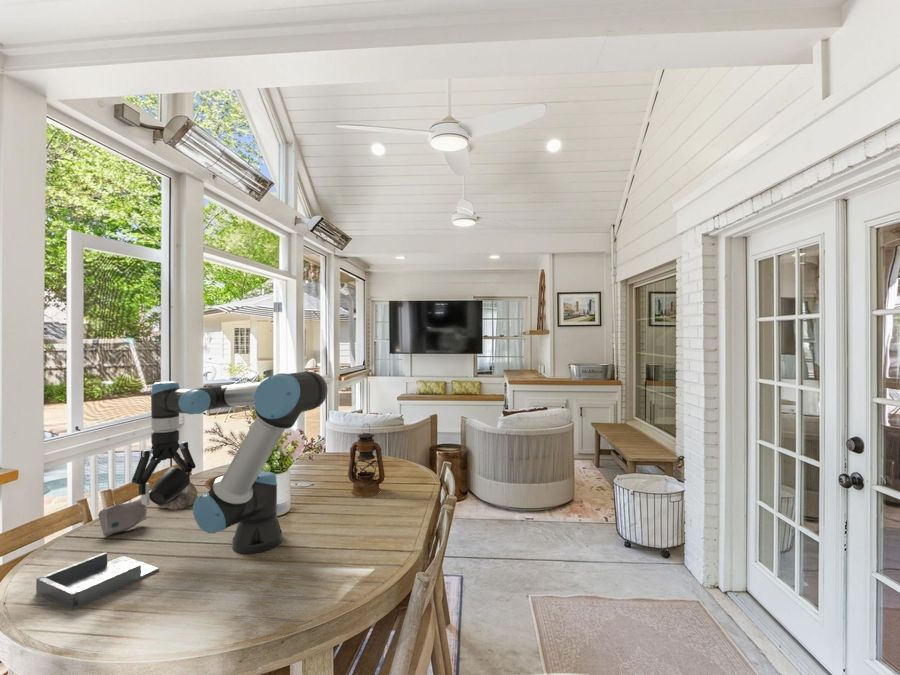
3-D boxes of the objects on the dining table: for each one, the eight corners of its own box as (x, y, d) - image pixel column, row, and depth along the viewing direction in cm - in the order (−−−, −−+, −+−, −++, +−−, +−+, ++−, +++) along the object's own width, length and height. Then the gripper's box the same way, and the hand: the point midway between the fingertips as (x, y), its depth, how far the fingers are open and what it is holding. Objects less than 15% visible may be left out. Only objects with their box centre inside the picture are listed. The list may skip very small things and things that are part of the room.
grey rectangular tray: (159, 571, 129) (159, 556, 129) (72, 611, 110) (72, 594, 110) (123, 559, 136) (123, 545, 136) (36, 594, 117) (36, 578, 117)
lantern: (389, 488, 201) (389, 421, 201) (379, 498, 189) (379, 426, 189) (353, 485, 204) (353, 420, 204) (341, 495, 192) (341, 425, 192)
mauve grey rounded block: (101, 538, 153) (103, 537, 149) (97, 510, 154) (99, 508, 150) (147, 524, 162) (150, 522, 158) (143, 497, 164) (146, 495, 160)
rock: (201, 498, 189) (201, 474, 189) (195, 508, 178) (195, 483, 178) (161, 502, 184) (161, 478, 184) (152, 513, 173) (152, 487, 173)
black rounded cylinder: (171, 519, 142) (191, 496, 150) (168, 493, 136) (189, 471, 144) (147, 512, 142) (169, 490, 150) (143, 485, 136) (165, 464, 145)
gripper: (193, 422, 156) (193, 485, 156) (117, 436, 134) (117, 508, 134) (207, 424, 153) (207, 488, 153) (132, 438, 131) (132, 512, 131)
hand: (165, 497), depth 143 cm, fingers closed on black rounded cylinder, 12 cm apart
